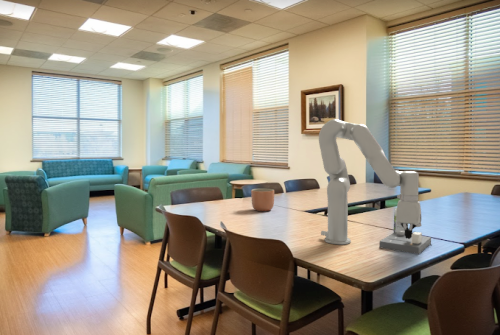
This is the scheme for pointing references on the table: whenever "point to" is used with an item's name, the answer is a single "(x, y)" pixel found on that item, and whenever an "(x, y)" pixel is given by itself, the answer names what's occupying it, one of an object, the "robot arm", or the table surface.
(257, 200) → the planter
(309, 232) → the table surface
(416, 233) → the fader tab
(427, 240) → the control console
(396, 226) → the syrup box
